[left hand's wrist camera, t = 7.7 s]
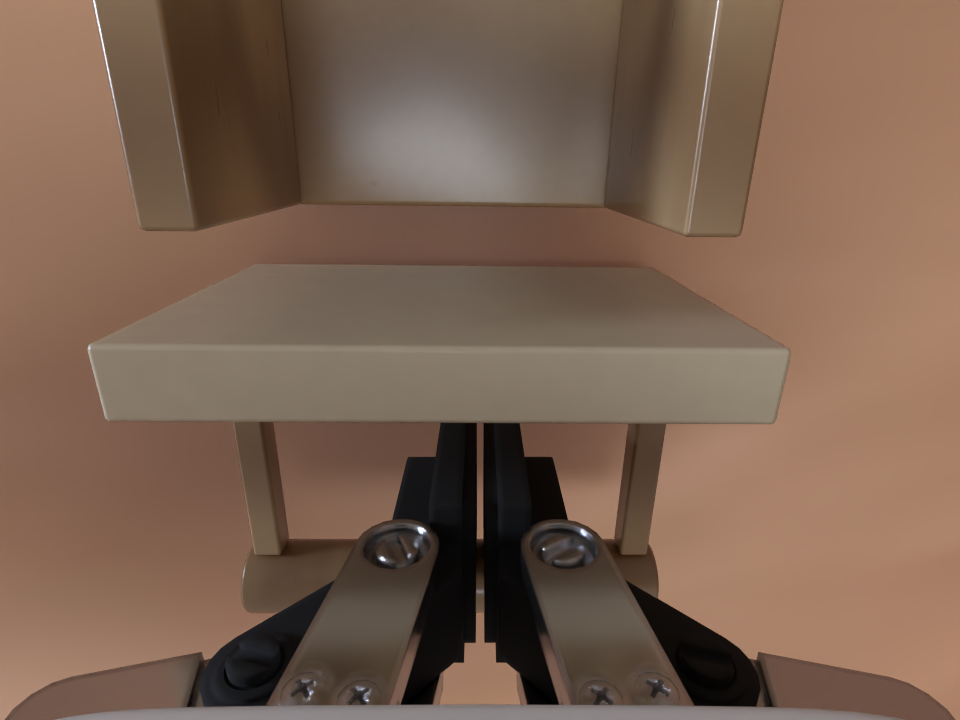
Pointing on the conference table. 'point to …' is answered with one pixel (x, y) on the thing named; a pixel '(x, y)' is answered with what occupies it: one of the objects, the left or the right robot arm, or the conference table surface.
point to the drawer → (438, 182)
